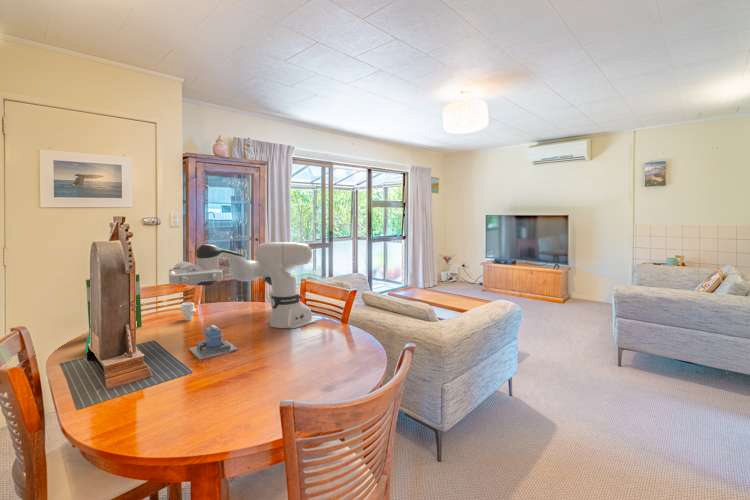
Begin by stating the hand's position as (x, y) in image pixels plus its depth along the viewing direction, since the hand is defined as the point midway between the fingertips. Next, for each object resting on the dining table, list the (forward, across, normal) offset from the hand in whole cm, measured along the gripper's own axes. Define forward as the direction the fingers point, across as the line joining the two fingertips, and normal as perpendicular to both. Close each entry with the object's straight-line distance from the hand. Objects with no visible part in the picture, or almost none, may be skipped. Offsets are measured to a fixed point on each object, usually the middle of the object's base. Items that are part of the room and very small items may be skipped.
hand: (201, 279), depth 148 cm
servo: (+12, 0, -25) cm, 28 cm away
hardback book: (-37, +25, -26) cm, 52 cm away
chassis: (+12, 0, -26) cm, 28 cm away
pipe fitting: (-37, -4, -26) cm, 45 cm away
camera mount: (-15, +31, -26) cm, 44 cm away
